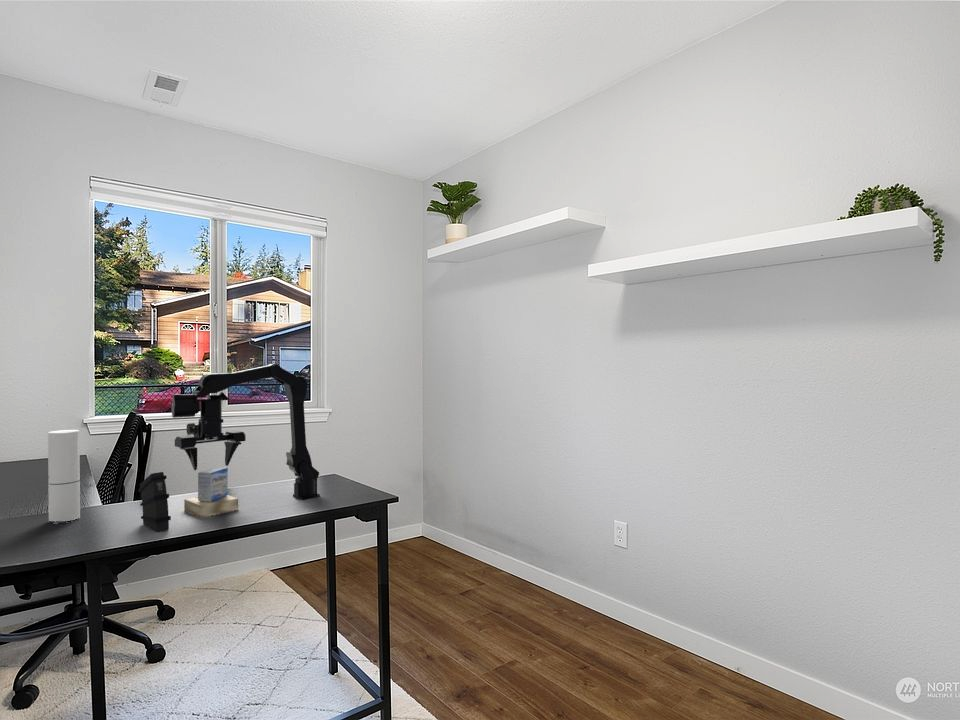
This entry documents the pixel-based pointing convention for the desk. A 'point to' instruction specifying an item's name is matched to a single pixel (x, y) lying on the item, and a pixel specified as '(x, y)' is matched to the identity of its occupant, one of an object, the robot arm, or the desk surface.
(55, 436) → the cylindrical container
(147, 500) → the magazine
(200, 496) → the medicine box
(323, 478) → the desk surface
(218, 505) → the maple block
